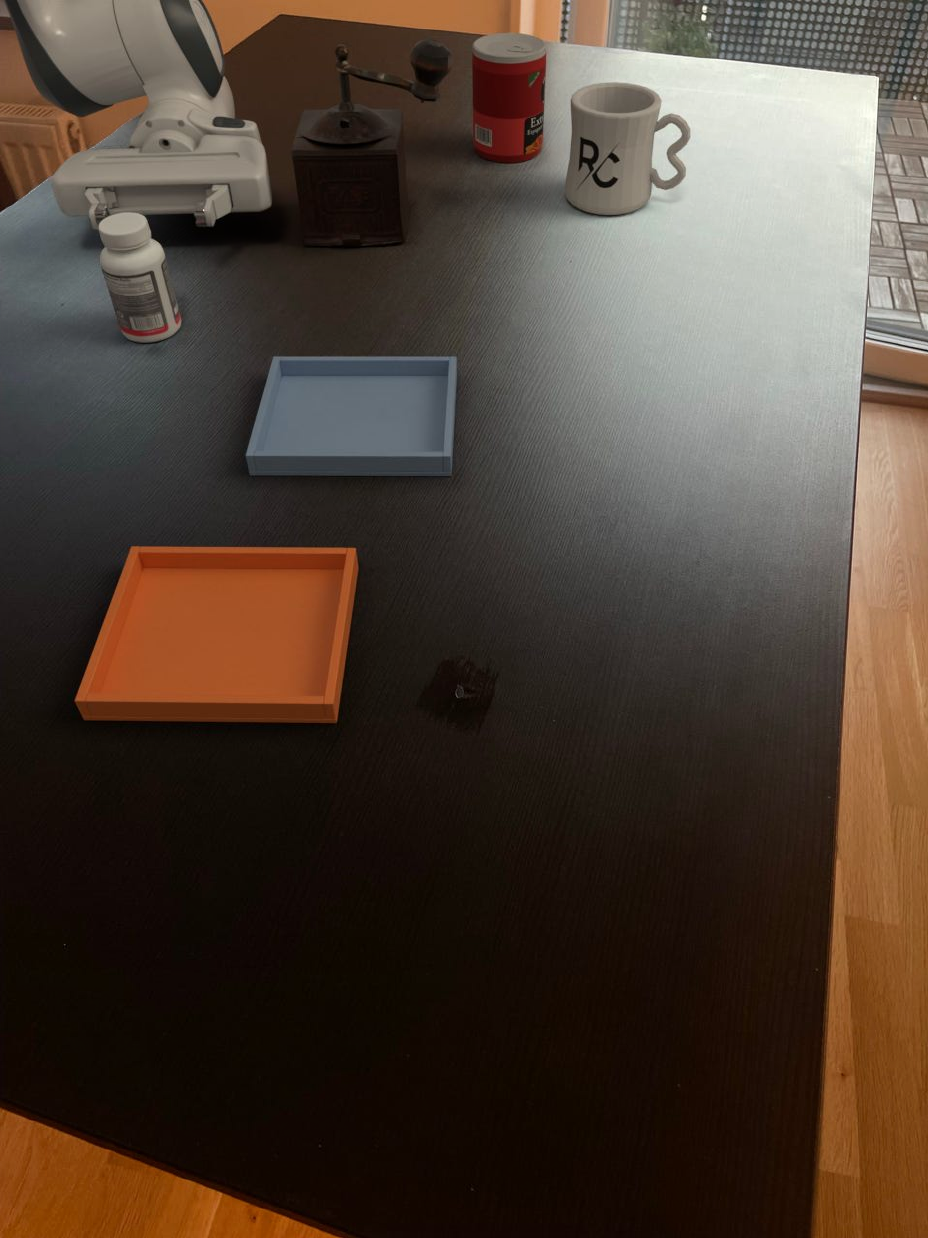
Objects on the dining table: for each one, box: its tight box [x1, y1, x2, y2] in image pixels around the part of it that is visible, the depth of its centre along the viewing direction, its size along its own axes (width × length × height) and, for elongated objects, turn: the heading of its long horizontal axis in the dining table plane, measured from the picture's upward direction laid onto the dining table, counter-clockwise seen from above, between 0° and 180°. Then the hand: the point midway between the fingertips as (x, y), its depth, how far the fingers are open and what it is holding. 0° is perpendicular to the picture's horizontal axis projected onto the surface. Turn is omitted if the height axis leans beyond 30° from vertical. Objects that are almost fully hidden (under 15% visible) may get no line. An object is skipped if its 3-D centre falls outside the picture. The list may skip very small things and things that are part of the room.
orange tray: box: [74, 545, 359, 724], centre depth 63 cm, size 15×13×2 cm
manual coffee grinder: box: [290, 38, 454, 248], centre depth 96 cm, size 16×11×18 cm
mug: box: [564, 81, 691, 216], centre depth 101 cm, size 12×9×10 cm
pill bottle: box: [98, 212, 182, 344], centre depth 86 cm, size 5×5×10 cm
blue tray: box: [245, 355, 458, 477], centre depth 78 cm, size 15×13×2 cm
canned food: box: [471, 32, 547, 164], centre depth 110 cm, size 8×8×11 cm
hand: (151, 220), depth 90 cm, fingers open, 8 cm apart
